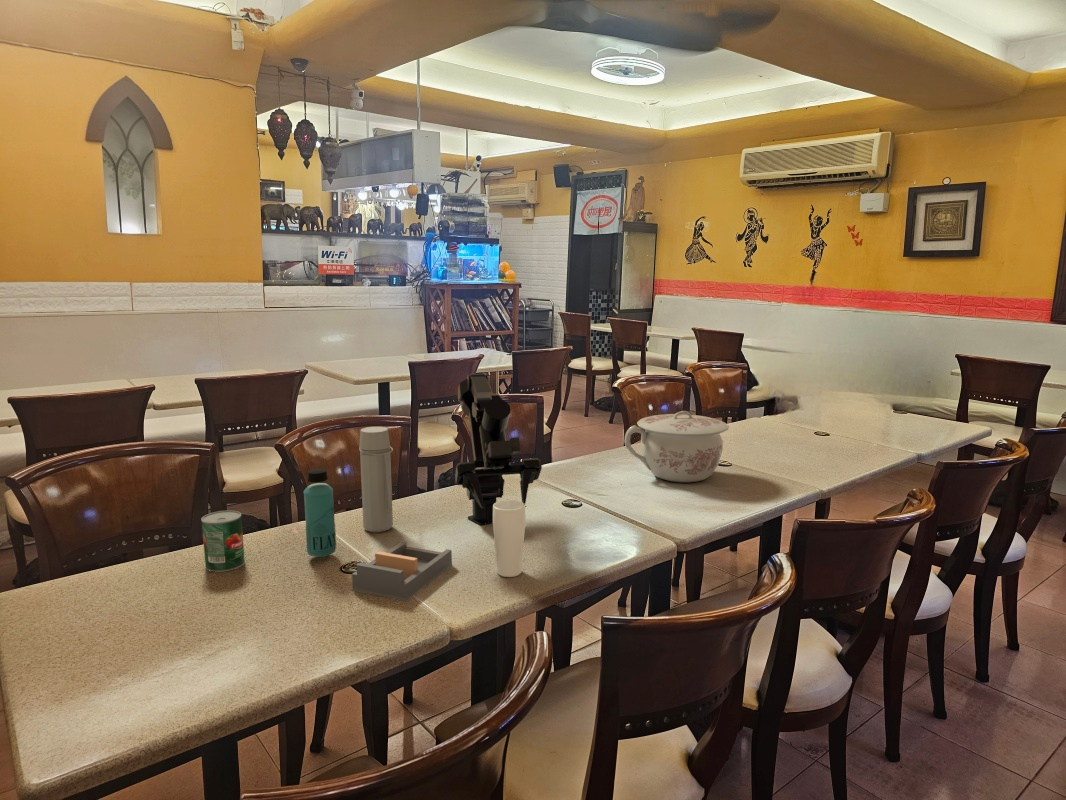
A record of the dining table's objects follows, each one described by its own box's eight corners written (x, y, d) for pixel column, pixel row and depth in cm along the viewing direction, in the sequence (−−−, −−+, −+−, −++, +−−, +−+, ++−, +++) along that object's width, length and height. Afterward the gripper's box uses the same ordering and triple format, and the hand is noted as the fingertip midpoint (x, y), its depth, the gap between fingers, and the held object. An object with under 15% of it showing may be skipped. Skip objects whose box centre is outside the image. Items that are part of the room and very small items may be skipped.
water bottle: (356, 528, 175) (351, 429, 170) (382, 520, 180) (379, 424, 176) (378, 538, 169) (373, 435, 164) (405, 529, 174) (401, 430, 170)
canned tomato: (205, 561, 156) (201, 513, 154) (244, 555, 159) (240, 508, 157) (205, 575, 148) (200, 524, 146) (245, 568, 151) (241, 519, 149)
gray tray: (402, 556, 158) (401, 532, 157) (451, 565, 153) (451, 540, 152) (352, 590, 141) (351, 563, 140) (406, 601, 137) (405, 573, 136)
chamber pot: (738, 472, 223) (741, 408, 219) (709, 496, 200) (712, 424, 196) (654, 460, 238) (656, 399, 234) (618, 480, 215) (620, 413, 211)
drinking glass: (521, 581, 146) (521, 511, 143) (489, 578, 147) (488, 509, 144) (528, 567, 152) (528, 500, 149) (497, 565, 153) (497, 498, 151)
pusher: (379, 574, 147) (378, 551, 146) (418, 581, 143) (417, 558, 143) (376, 576, 146) (375, 553, 145) (415, 583, 142) (414, 560, 141)
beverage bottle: (309, 565, 153) (304, 476, 149) (304, 554, 159) (298, 468, 155) (340, 560, 156) (335, 472, 152) (333, 549, 162) (329, 464, 158)
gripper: (455, 426, 153) (463, 491, 145) (539, 422, 157) (552, 485, 149) (452, 453, 162) (459, 515, 154) (532, 448, 166) (543, 509, 158)
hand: (503, 505), depth 153 cm, fingers open, 9 cm apart
